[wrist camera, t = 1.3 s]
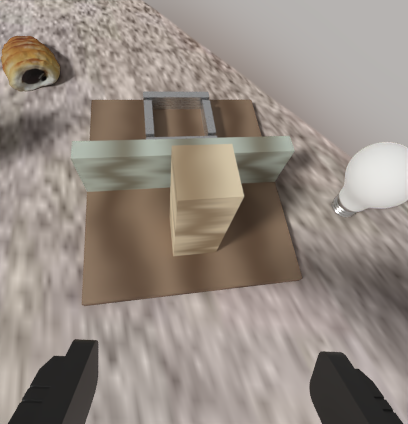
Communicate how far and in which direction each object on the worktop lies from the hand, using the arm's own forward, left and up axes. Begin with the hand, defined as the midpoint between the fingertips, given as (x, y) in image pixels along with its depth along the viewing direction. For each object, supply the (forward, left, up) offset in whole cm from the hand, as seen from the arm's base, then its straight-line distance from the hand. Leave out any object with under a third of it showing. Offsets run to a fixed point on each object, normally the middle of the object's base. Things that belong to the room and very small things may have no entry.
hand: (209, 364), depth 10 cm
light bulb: (-21, -13, -18) cm, 31 cm away
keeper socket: (-2, -26, -18) cm, 32 cm away
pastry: (+17, -38, -18) cm, 46 cm away
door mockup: (-2, -18, -18) cm, 26 cm away
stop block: (-2, -11, -17) cm, 20 cm away
